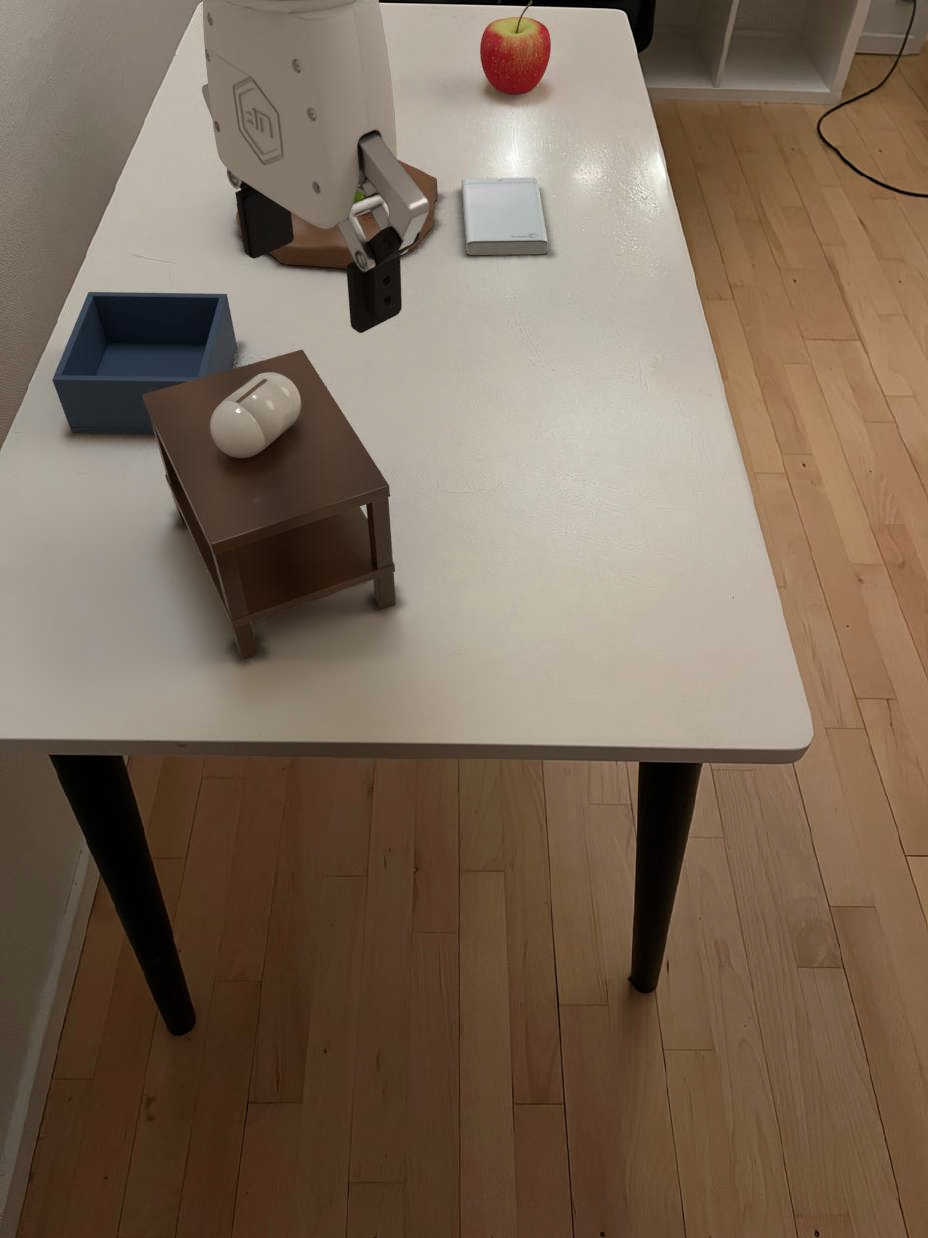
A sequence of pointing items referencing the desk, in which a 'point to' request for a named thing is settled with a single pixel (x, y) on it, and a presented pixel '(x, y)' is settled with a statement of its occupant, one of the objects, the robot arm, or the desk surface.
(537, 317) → the desk surface
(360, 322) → the robot arm
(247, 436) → the white capsule
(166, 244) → the desk surface
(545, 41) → the apple
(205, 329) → the bin
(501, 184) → the hard drive
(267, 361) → the side table
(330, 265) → the plant
